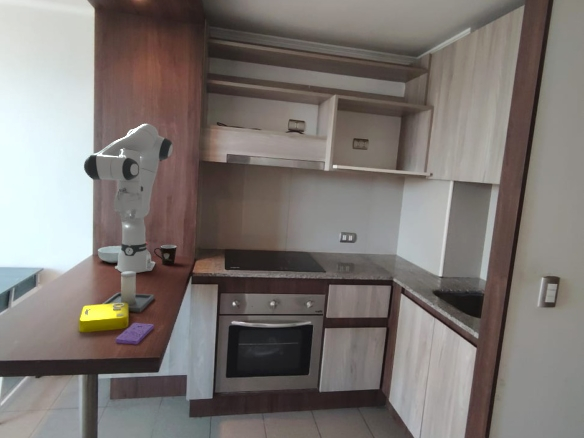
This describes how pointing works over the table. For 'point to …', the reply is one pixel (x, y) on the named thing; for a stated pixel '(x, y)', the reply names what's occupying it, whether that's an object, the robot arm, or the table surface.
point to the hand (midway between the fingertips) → (128, 220)
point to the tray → (138, 306)
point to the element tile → (103, 317)
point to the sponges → (134, 333)
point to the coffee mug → (167, 254)
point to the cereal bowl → (109, 253)
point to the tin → (128, 287)
